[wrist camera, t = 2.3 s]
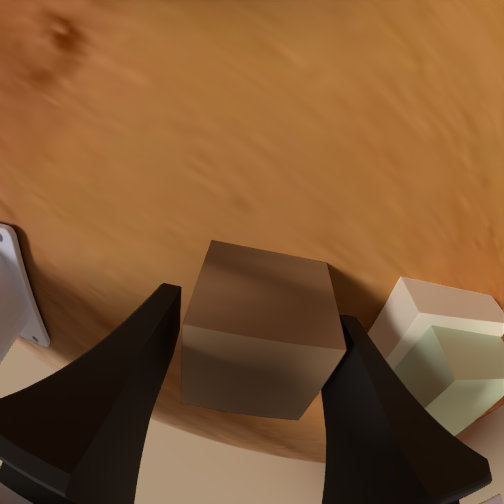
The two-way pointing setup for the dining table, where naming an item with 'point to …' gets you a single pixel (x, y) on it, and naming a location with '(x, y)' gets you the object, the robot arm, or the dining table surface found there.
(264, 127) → the dining table surface
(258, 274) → the walnut cube
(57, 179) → the dining table surface
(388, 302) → the tower base
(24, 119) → the dining table surface
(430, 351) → the tower mid
